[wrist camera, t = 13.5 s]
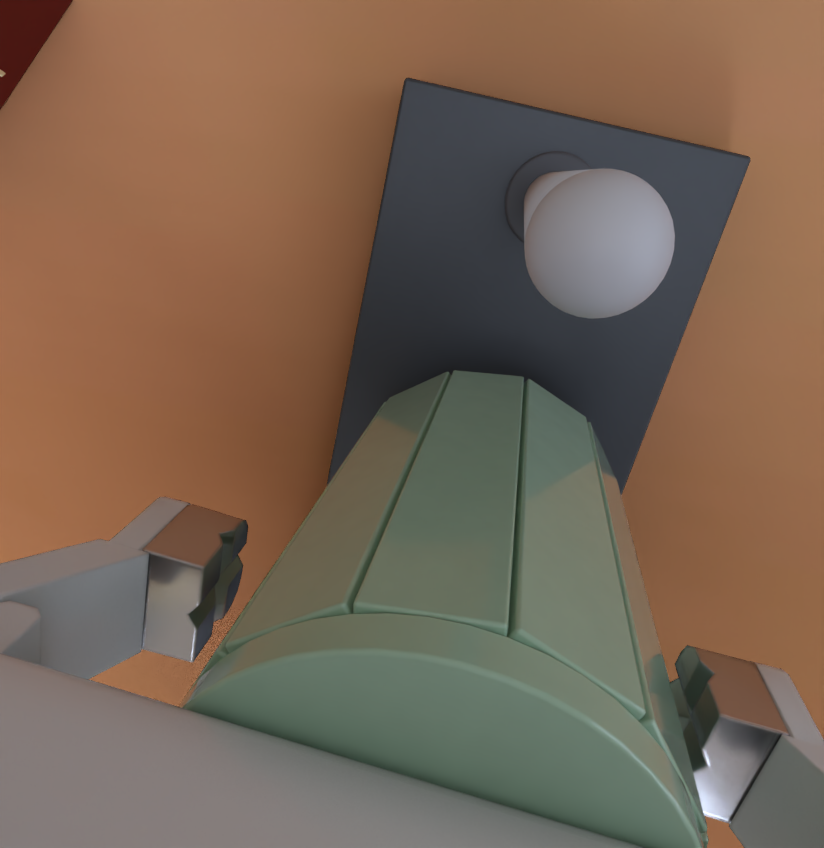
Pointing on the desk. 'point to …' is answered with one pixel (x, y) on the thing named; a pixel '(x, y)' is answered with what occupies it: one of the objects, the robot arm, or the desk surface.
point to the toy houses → (24, 36)
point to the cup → (471, 619)
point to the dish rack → (535, 259)
